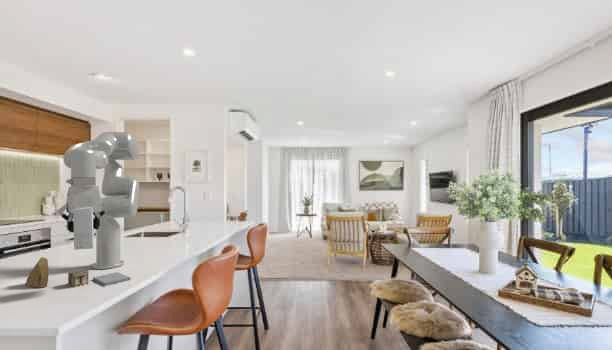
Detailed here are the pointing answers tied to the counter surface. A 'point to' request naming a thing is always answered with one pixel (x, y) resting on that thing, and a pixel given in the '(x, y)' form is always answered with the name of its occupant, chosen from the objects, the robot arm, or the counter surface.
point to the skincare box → (83, 228)
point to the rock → (38, 274)
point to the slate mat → (111, 278)
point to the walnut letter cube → (78, 277)
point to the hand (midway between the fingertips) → (83, 230)
